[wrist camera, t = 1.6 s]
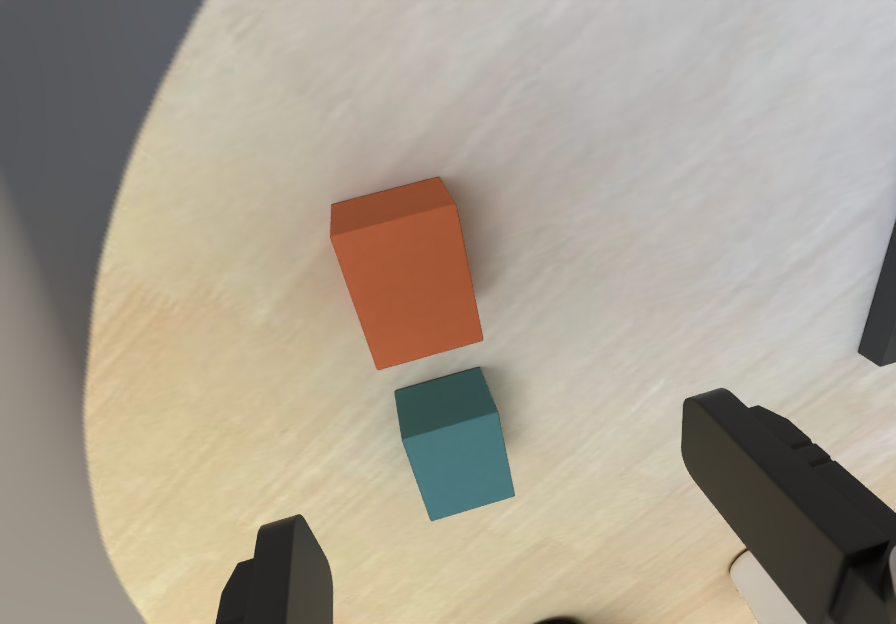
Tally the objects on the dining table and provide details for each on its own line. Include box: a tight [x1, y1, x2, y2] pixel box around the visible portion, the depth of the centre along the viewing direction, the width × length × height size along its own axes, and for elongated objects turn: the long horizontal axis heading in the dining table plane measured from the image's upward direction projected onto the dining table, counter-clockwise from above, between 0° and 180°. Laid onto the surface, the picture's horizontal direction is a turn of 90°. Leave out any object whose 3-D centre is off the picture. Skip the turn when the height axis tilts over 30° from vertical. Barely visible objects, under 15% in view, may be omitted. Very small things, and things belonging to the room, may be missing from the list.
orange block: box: [330, 177, 483, 370], centre depth 20 cm, size 6×4×4 cm
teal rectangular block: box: [395, 367, 515, 521], centre depth 26 cm, size 6×4×4 cm
